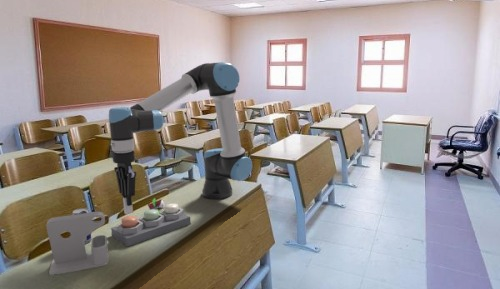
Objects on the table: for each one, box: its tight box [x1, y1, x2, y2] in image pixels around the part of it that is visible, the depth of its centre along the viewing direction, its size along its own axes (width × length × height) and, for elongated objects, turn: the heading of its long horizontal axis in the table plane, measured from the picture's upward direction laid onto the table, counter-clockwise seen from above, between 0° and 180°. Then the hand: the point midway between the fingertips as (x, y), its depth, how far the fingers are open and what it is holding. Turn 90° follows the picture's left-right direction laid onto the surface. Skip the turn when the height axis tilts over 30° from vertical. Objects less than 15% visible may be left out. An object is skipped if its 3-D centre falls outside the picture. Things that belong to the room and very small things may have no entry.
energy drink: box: [71, 207, 92, 245], centre depth 131 cm, size 5×5×12 cm
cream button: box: [163, 203, 180, 214], centre depth 146 cm, size 6×6×2 cm
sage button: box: [143, 209, 159, 221], centre depth 140 cm, size 6×6×2 cm
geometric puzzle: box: [147, 197, 166, 213], centre depth 157 cm, size 7×7×8 cm
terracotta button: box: [120, 215, 138, 228], centre depth 134 cm, size 6×6×2 cm
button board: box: [110, 206, 192, 247], centre depth 141 cm, size 27×13×5 cm, turn 134°
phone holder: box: [45, 211, 109, 276], centre depth 115 cm, size 17×10×18 cm, turn 111°
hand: (128, 212), depth 133 cm, fingers closed
